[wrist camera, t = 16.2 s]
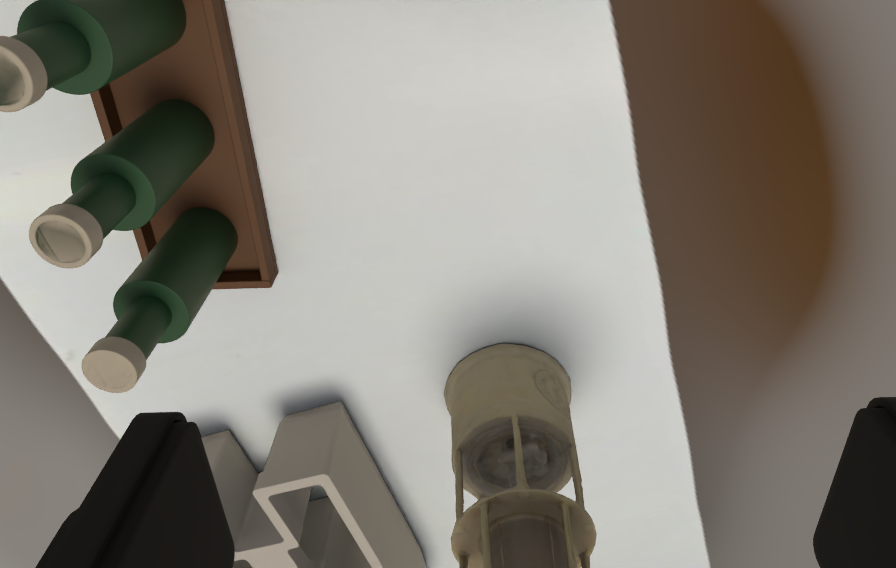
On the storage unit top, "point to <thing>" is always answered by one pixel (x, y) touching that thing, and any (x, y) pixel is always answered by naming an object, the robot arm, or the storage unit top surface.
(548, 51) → the storage unit top surface
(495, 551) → the lamp
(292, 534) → the grey compartment organizer
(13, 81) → the bottle
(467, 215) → the storage unit top surface
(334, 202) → the storage unit top surface
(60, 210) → the bottle mid
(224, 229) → the bottle end
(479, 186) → the storage unit top surface
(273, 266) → the tray
